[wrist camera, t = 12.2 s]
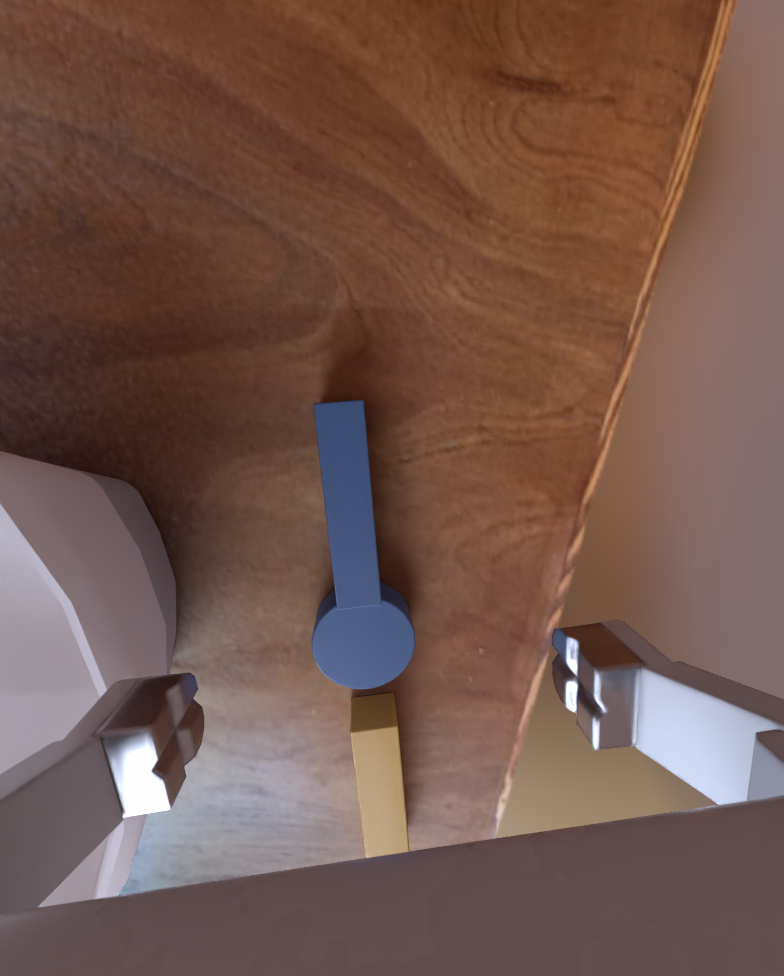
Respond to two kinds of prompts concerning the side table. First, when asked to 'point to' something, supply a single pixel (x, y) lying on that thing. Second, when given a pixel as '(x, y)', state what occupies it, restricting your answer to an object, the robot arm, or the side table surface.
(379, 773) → the fry
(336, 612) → the blue rounded-end bar
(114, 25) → the side table surface
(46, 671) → the bowl
